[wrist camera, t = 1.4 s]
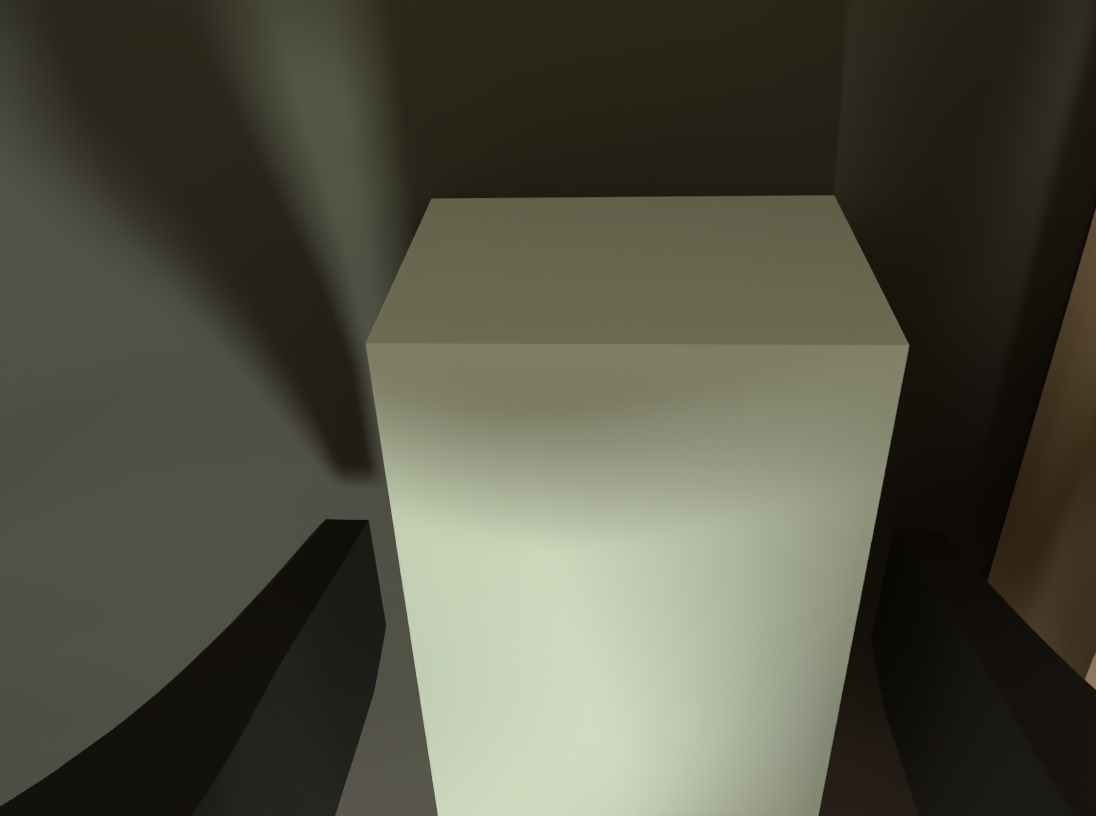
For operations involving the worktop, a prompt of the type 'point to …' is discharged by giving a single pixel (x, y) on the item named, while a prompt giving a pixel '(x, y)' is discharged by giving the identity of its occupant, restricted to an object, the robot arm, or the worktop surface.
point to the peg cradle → (1059, 494)
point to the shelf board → (633, 495)
